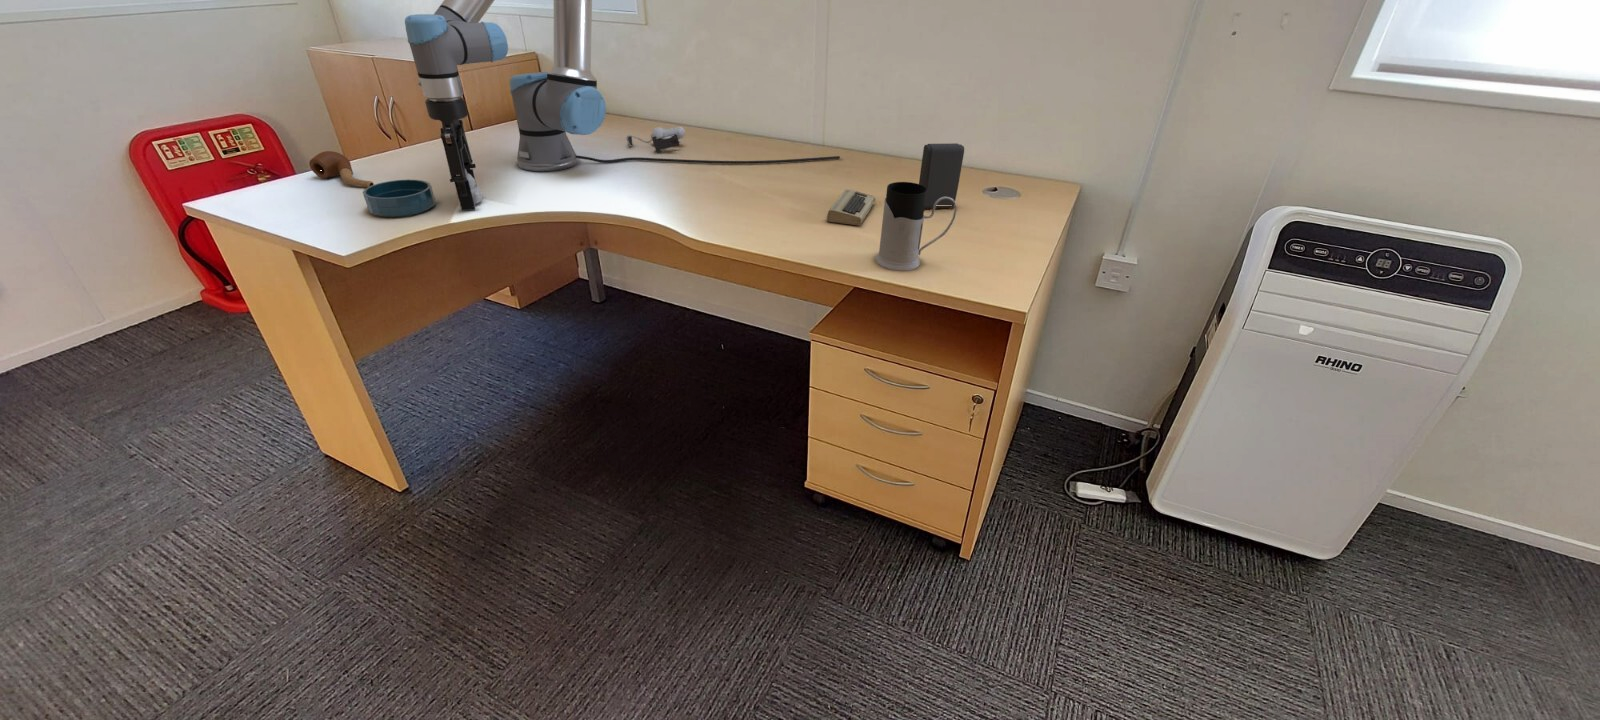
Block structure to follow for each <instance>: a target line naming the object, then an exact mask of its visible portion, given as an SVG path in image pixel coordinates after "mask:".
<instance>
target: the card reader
mask: <svg viewBox="0 0 1600 720" xmlns="http://www.w3.org/2000/svg"><path fill="white" fill-rule="evenodd" d="M964 156H965V146H964V145H962V144H959V143H956V142H955V143H927V144H924V146H923V151H922V159H921V165H920V173H919V181H918V184H920V185H922V186H924V187H926V188H927V194H926V201H925V208H924V210H933V206H934V204H935V202H936V201H937V200H938V199H939V198H941V197H950V198H952V199H953V200H954V201H955V202H956V199H957V194H958V189H959V185H960V184H959V182H960V178H961V173H962V168H963V167H962V166H963V161H964ZM937 205H952V206H936V207H935V210H937V209H938V210H941V209H943V210H944V209H952V208H955V205H954V203H953V202H952V201H951V200H949V199H943V200H941V201H939V202H938V203H937Z"/></svg>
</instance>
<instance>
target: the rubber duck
mask: <svg viewBox="0 0 1600 720" xmlns="http://www.w3.org/2000/svg"><path fill="white" fill-rule="evenodd" d="M465 173H466V177H467V180H468V181H469V185H470V189H471V193H472V197H473V201H474V205H477V204H478V203H480V202H482V200H483V195H484V193H483V192H482V190H481V188H480V187H479V186H478V185H477V181H476V178H475V179H474V178H473V177H472V176H471V175H470V174H469V173H468V174H467V171H466V169H465ZM475 181H476V182H475ZM475 185H477V186H475ZM455 194H456V196H457V197H458V194H457V192H456V193H455Z"/></svg>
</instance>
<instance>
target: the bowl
mask: <svg viewBox="0 0 1600 720" xmlns="http://www.w3.org/2000/svg"><path fill="white" fill-rule="evenodd" d="M362 196H363V198H364V201H365V204H366V206H367V209H368V212H369V213H370V214H372V215H375V216H379V217H384V218H403V217H410V216H415V215H419V214H422V213H425V212H427V211H429V210H430V209H431V208H432V207H434V206H435V205H436V202H437V200H436V197H435V194H434V190H433V186H432V184H431V183H430V182H428V181H426V180H421V179H409V178H407V179H395V180H388V181H382V182H379V183H375V184H374V185H372V186H370V187H365V188H364V190H363V191H362Z"/></svg>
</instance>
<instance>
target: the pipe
mask: <svg viewBox="0 0 1600 720" xmlns="http://www.w3.org/2000/svg"><path fill="white" fill-rule="evenodd" d="M308 163H309V164H308V165H309V169H311V171H312V172H313V174H315V175H316V176H318V177H319V178H321V179H328V178H333V177H336V176H340V177H341V180H342V181H343V182H344V184H345V183H346V184H347V185H353V186H357V187H364V188H368V187H370V186H372V185H375V184H374V182H373V181H371V180H366V179H365V180H364V179H359V178H355V177H353V175H354V171H353V168H352V163H351V162H350V159H349V158H347V156H345V155H344V154H342V153H340V152H337V151H333V150H327V151H326V150H325V151H322V152H320V153H317V154H316V155H314V156H313V157H312V158H311V159H309V162H308ZM320 170H322V171H320Z"/></svg>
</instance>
